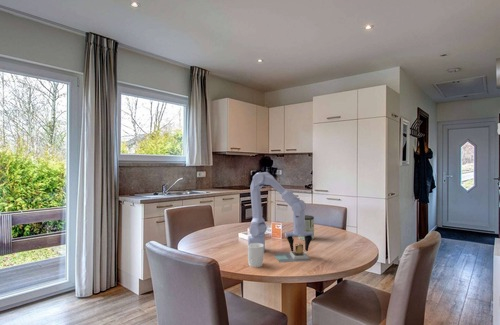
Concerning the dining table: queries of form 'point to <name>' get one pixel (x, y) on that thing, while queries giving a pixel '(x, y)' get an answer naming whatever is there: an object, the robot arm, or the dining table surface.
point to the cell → (298, 249)
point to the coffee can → (308, 226)
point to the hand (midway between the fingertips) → (299, 250)
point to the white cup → (255, 254)
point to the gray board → (291, 257)
